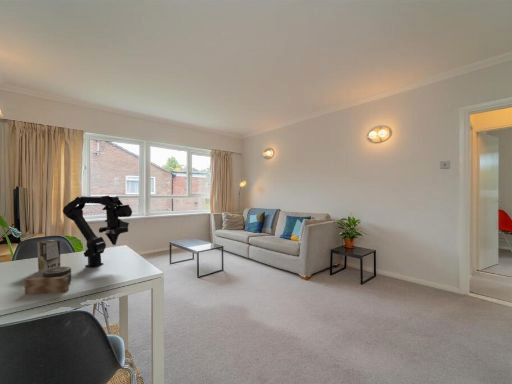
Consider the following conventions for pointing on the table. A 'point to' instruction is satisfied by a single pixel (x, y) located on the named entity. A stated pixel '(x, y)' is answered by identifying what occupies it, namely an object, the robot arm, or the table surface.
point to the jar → (58, 272)
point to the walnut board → (46, 285)
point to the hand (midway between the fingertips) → (114, 244)
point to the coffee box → (48, 255)
